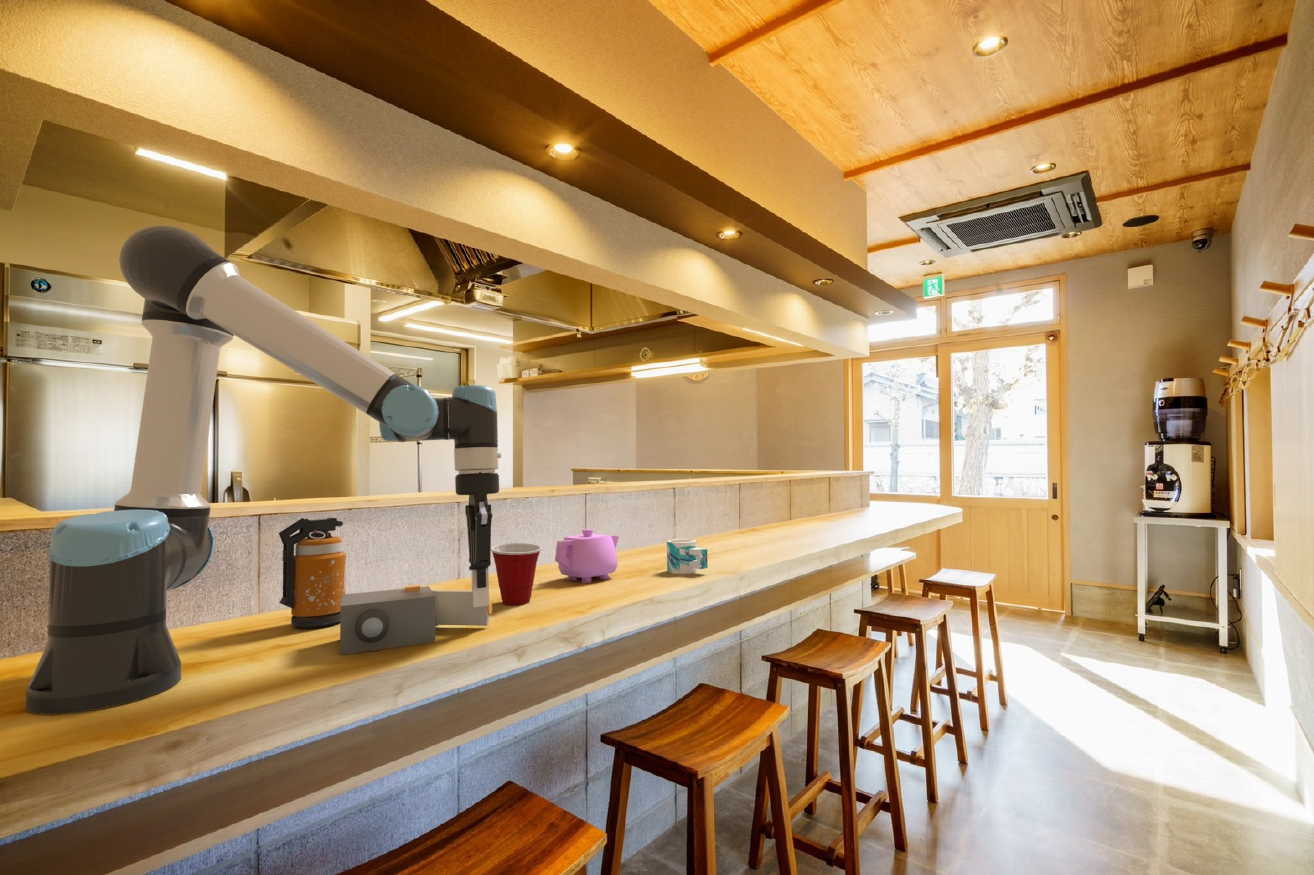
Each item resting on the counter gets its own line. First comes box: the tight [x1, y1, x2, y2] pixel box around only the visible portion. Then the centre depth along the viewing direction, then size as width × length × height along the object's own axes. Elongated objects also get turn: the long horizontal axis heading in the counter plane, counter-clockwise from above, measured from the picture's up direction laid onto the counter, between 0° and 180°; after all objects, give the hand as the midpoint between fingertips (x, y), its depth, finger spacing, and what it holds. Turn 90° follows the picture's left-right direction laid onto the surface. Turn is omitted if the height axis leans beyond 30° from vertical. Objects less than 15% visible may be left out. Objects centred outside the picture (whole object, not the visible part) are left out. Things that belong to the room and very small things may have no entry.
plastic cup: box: [491, 542, 543, 606], centre depth 130 cm, size 11×11×12 cm
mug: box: [666, 538, 708, 575], centre depth 164 cm, size 8×12×8 cm
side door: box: [432, 589, 493, 627], centre depth 110 cm, size 2×11×6 cm, turn 82°
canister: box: [278, 517, 347, 629], centre depth 115 cm, size 9×11×20 cm
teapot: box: [554, 528, 619, 584], centre depth 157 cm, size 20×12×13 cm, turn 136°
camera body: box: [339, 584, 436, 656], centre depth 102 cm, size 14×12×8 cm
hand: (480, 605), depth 108 cm, fingers closed
